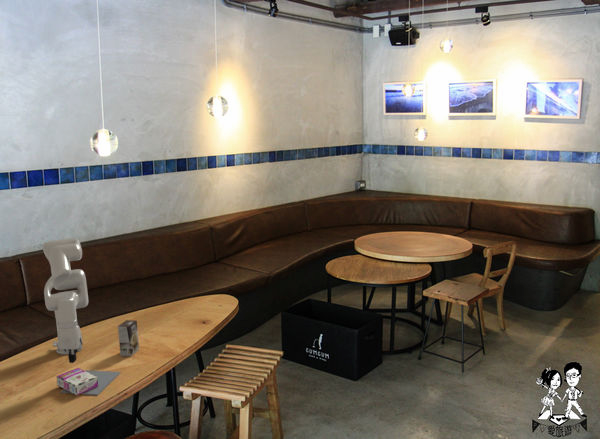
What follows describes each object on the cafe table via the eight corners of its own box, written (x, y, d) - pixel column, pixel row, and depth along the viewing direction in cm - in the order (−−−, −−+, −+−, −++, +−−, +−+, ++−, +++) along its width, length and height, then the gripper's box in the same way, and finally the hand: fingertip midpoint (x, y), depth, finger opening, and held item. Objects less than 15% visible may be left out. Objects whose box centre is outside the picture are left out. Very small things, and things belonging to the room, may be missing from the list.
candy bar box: (57, 386, 270) (76, 396, 259) (55, 376, 269) (74, 385, 258) (79, 377, 278) (98, 386, 268) (78, 367, 277) (97, 376, 267)
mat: (60, 393, 264) (60, 392, 264) (85, 371, 285) (85, 370, 285) (97, 395, 261) (97, 394, 261) (120, 373, 282) (120, 371, 282)
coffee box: (131, 356, 300) (128, 326, 297) (120, 356, 302) (117, 326, 298) (139, 349, 309) (137, 320, 306) (128, 348, 310) (125, 319, 307)
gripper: (48, 326, 266) (53, 364, 270) (79, 327, 264) (83, 365, 267) (58, 320, 274) (62, 357, 277) (88, 321, 271) (92, 358, 275)
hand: (72, 361), depth 272 cm, fingers closed
